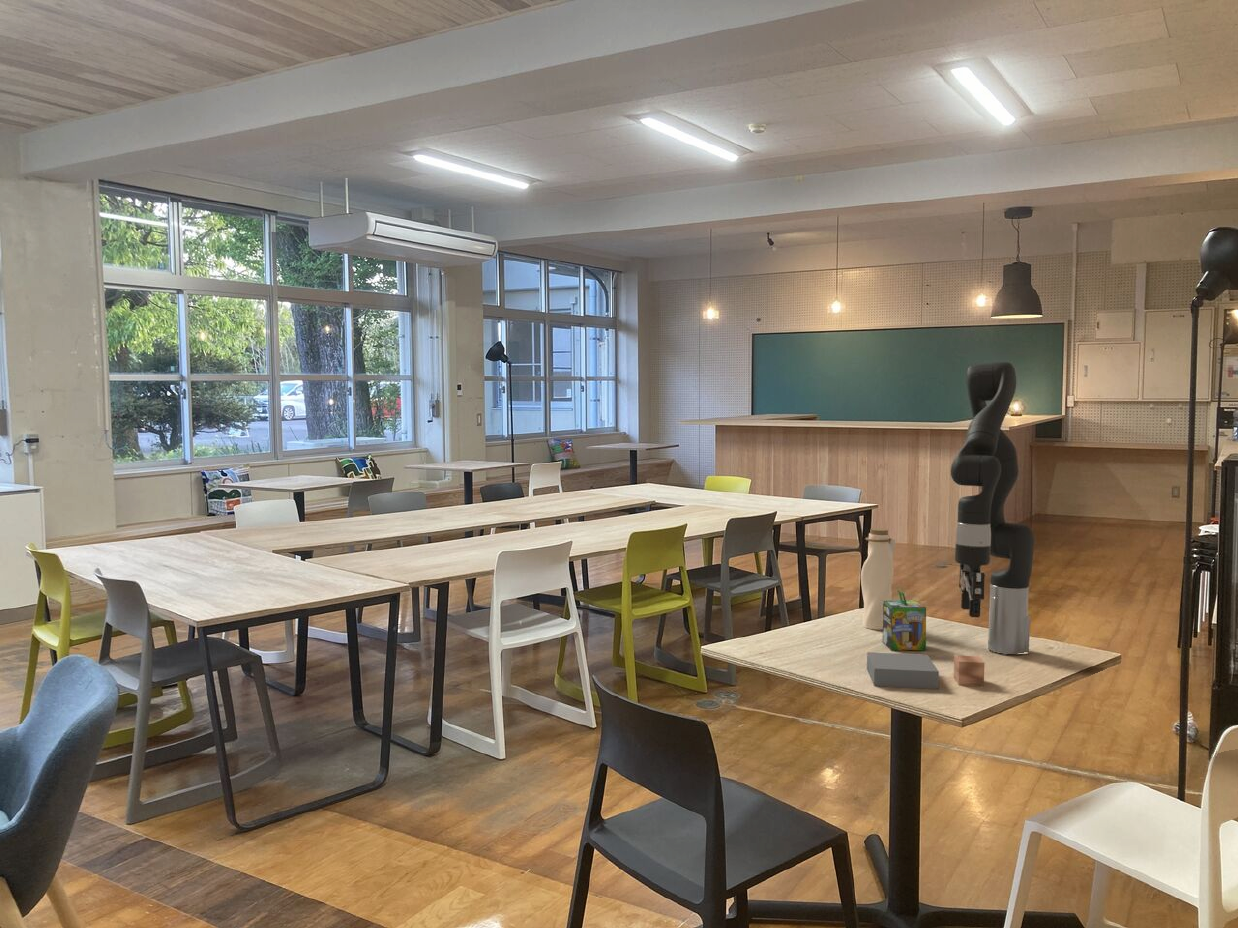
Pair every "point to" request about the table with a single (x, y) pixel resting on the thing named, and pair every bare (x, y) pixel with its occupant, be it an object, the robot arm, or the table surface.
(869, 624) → the water bottle
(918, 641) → the chalk box
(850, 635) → the table surface
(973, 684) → the terracotta cube
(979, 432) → the robot arm
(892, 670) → the charcoal base
